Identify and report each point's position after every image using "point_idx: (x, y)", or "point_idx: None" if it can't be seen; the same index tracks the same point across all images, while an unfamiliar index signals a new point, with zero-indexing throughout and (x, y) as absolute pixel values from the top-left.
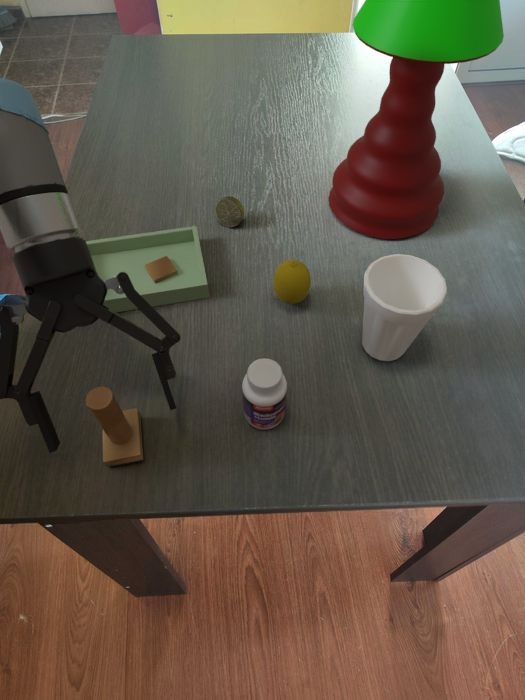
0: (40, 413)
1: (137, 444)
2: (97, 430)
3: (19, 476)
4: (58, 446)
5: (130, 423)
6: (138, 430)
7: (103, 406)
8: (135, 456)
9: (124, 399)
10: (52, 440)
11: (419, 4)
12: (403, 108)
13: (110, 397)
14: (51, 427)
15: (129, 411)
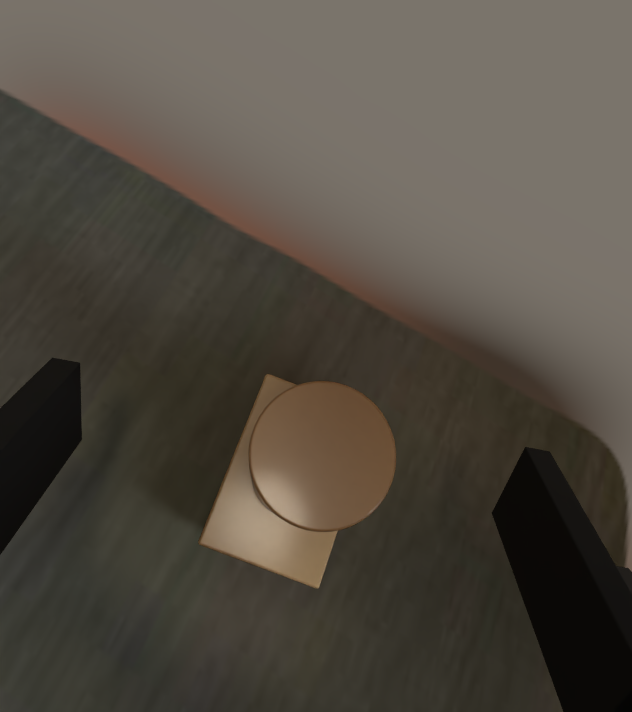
0: (598, 579)
1: (259, 409)
2: (349, 569)
3: None
4: (508, 480)
5: (246, 495)
6: (235, 455)
7: (322, 387)
8: (282, 380)
9: (224, 642)
10: (540, 475)
11: None
12: None
13: (268, 418)
14: (530, 547)
15: (229, 544)
